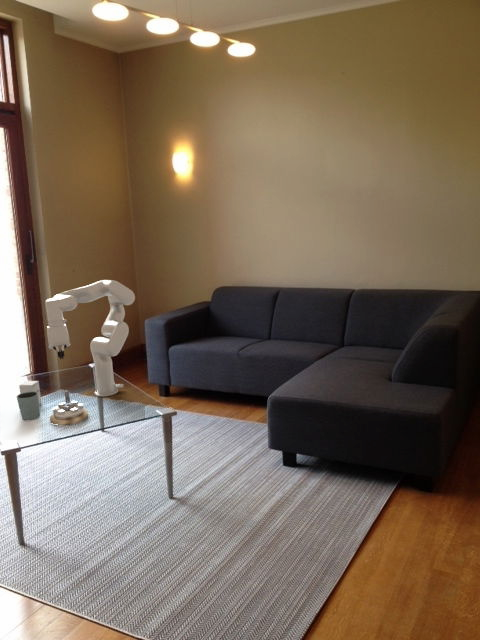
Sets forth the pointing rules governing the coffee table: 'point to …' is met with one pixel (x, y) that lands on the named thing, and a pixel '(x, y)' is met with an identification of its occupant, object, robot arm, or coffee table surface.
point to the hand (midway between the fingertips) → (61, 358)
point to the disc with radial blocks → (68, 409)
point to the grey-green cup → (28, 405)
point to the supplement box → (31, 388)
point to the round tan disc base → (70, 421)
